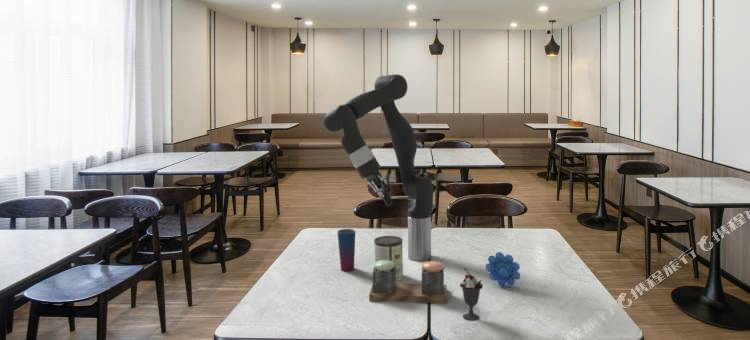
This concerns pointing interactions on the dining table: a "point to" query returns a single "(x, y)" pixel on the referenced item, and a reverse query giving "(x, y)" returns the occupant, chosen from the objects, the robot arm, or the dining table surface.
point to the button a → (384, 265)
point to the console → (408, 288)
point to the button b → (432, 266)
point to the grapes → (503, 269)
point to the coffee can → (390, 252)
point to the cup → (346, 248)
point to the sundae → (471, 295)
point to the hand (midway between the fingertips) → (390, 205)
